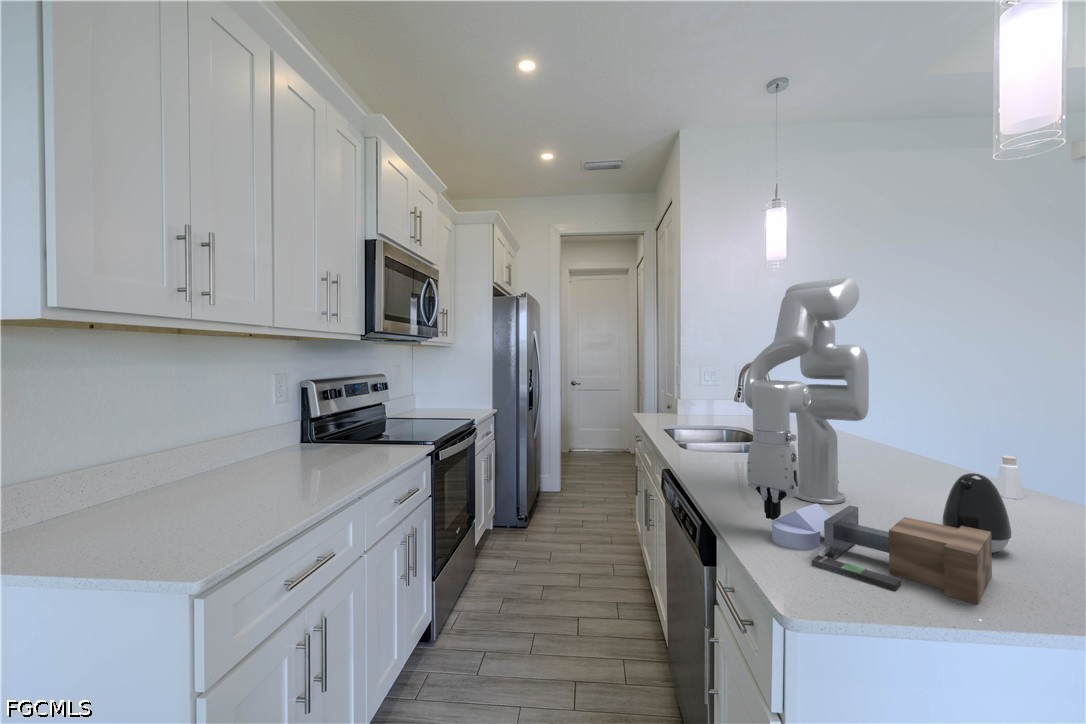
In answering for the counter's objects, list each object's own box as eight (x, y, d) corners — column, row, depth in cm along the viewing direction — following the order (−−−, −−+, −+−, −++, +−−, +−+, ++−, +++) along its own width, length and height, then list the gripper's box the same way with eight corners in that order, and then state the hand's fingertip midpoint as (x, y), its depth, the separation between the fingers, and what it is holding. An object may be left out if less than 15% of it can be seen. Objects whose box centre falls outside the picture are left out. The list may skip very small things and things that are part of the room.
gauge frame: (846, 539, 99) (846, 502, 99) (992, 576, 81) (991, 531, 81) (812, 564, 87) (811, 523, 87) (972, 615, 69) (971, 562, 69)
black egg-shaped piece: (931, 543, 96) (930, 471, 95) (959, 534, 100) (958, 465, 100) (994, 563, 86) (993, 482, 86) (1022, 552, 90) (1021, 476, 90)
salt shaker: (991, 492, 128) (990, 453, 128) (1015, 494, 127) (1015, 454, 127) (1003, 498, 123) (1003, 457, 123) (1029, 500, 122) (1028, 458, 121)
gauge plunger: (850, 537, 98) (849, 505, 98) (910, 553, 90) (910, 517, 90) (816, 562, 87) (815, 526, 87) (882, 582, 79) (881, 542, 79)
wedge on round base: (797, 526, 106) (763, 539, 100) (797, 498, 106) (762, 508, 100) (839, 539, 99) (804, 553, 92) (838, 508, 99) (804, 520, 92)
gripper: (813, 439, 100) (815, 522, 100) (747, 431, 112) (748, 506, 112) (798, 444, 96) (800, 531, 96) (731, 435, 107) (732, 513, 107)
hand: (772, 517), depth 104 cm, fingers closed
